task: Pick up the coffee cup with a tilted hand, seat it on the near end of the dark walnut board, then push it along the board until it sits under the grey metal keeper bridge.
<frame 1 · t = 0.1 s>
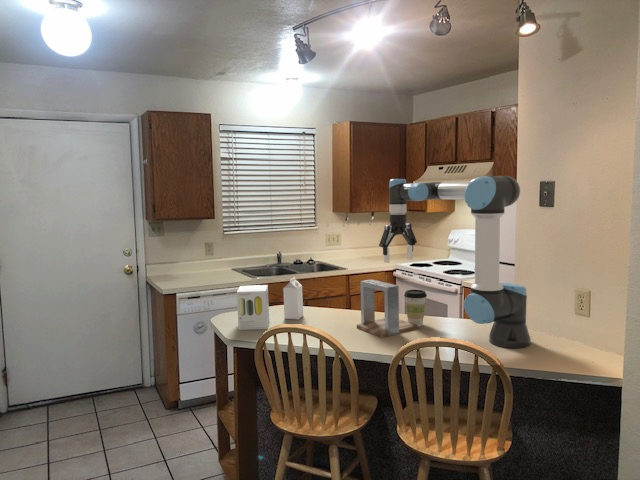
hand: (398, 260, 229), 28 cm above the breakfast bar, tool pointing down, fingers open, 13 cm apart
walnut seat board: (386, 328, 222), on the breakfast bar
supplement box: (254, 325, 232), on the breakfast bar
grey keeper bridge: (379, 329, 219), resting on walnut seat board
coffee cup: (415, 325, 225), on the breakfast bar, touching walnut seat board
milk carton: (293, 317, 243), on the breakfast bar
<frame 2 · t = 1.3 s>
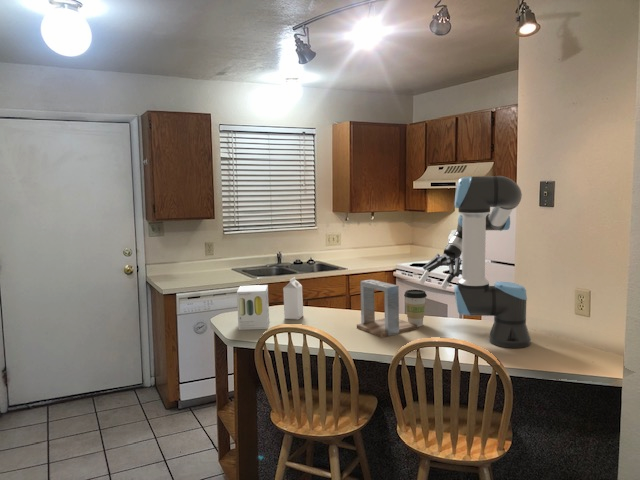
hand: (431, 285, 229), 16 cm above the breakfast bar, tool tilted 45°, fingers open, 13 cm apart
nothing on the breakfast bar moved.
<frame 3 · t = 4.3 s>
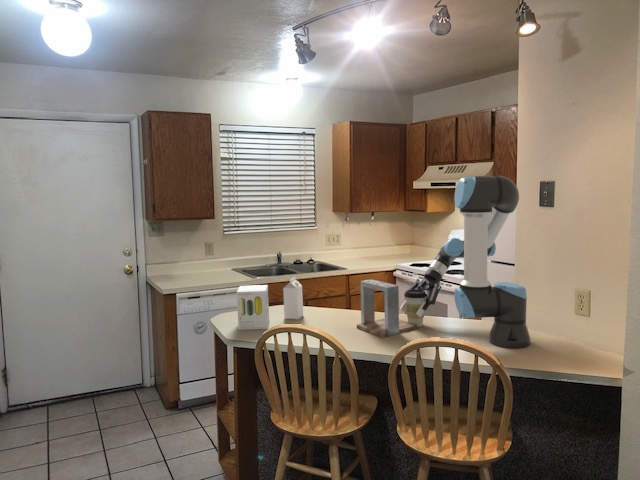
hand: (409, 312, 223), 6 cm above the breakfast bar, tool tilted 45°, fingers closed on coffee cup, 10 cm apart
coffee cup: (415, 325, 225), on the breakfast bar, touching gripper, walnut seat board
everything else where it was.
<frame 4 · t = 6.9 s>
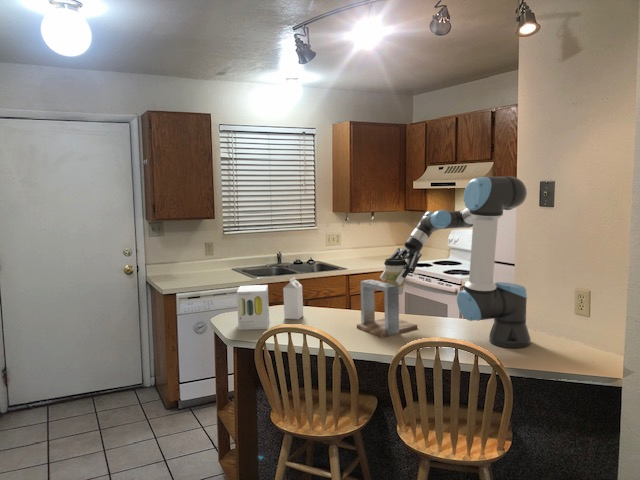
hand: (389, 281, 220), 21 cm above the breakfast bar, tool tilted 45°, fingers closed on coffee cup, 10 cm apart
coffee cup: (395, 293, 223), point 14 cm above the breakfast bar, touching gripper
everything else where it was.
when the fingers open (9 cm above the breakfast bar, at t = 9.5 s): coffee cup drops 1 cm, resting on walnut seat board.
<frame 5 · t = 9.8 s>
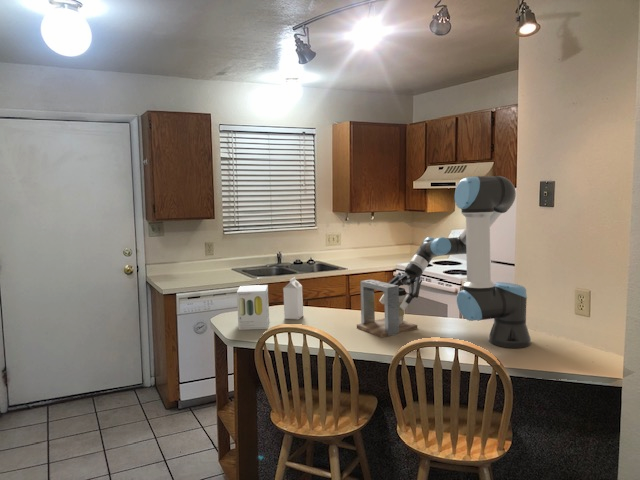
hand: (391, 305, 222), 10 cm above the breakfast bar, tool tilted 45°, fingers open, 13 cm apart
coffee cup: (395, 323, 224), point 1 cm above the breakfast bar, touching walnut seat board
everything else where it was.
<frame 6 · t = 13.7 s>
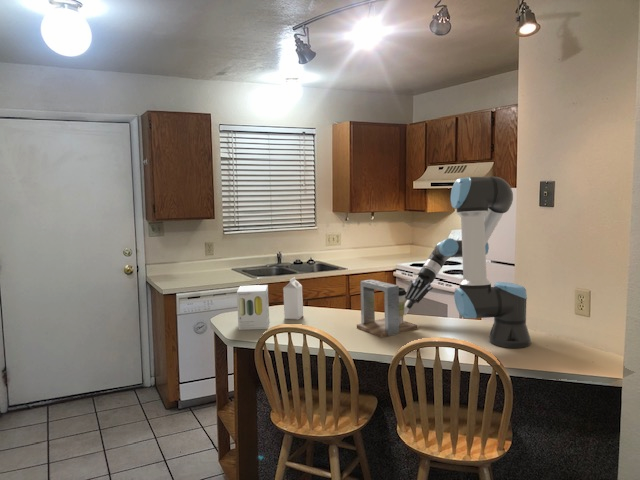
hand: (402, 313, 227), 5 cm above the breakfast bar, tool tilted 45°, fingers closed
coffee cup: (395, 322, 224), point 1 cm above the breakfast bar, touching gripper
everything else where it was.
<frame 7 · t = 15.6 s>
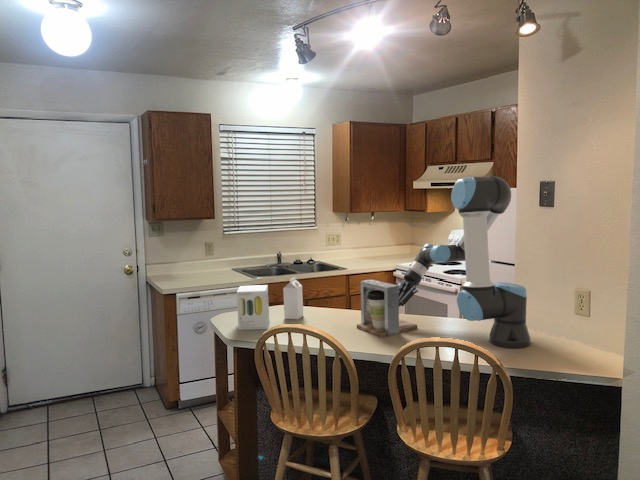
hand: (387, 316, 221), 5 cm above the breakfast bar, tool tilted 45°, fingers closed
coffee cup: (380, 326, 219), point 2 cm above the breakfast bar, touching gripper
everything else where it was.
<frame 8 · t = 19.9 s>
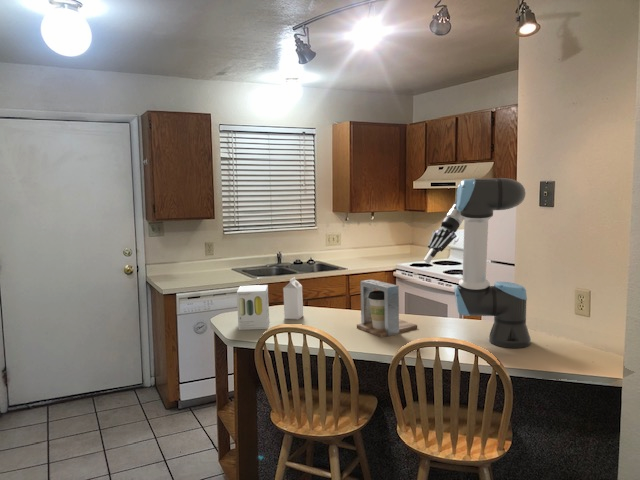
hand: (426, 261, 223), 28 cm above the breakfast bar, tool tilted 45°, fingers closed
coffee cup: (380, 327, 219), point 1 cm above the breakfast bar, touching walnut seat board
everything else where it was.
at the end: coffee cup inside the target area on the grey keeper bridge (0.7 cm from its centre), point 1.3 cm above the grey keeper bridge's base; coffee cup tilted 0°; the gripper is holding nothing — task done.
